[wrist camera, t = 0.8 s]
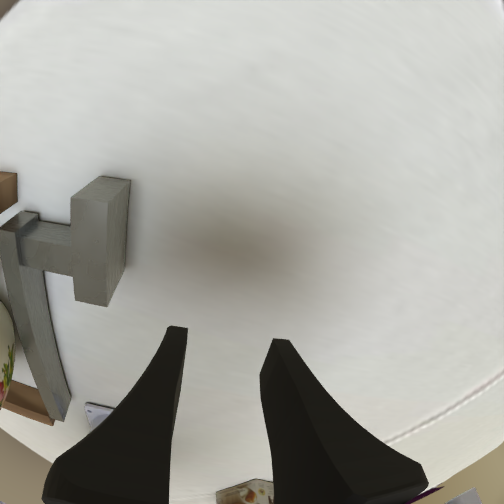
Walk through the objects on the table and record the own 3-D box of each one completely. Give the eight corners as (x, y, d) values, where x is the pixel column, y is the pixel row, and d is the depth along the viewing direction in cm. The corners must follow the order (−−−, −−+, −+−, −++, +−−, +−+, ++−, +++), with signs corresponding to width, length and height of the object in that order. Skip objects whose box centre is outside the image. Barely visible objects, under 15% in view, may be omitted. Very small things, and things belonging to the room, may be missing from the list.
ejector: (130, 413, 27) (124, 445, 23) (58, 395, 25) (47, 425, 22) (130, 180, 17) (108, 203, 13) (20, 167, 15) (-17, 186, 12)
